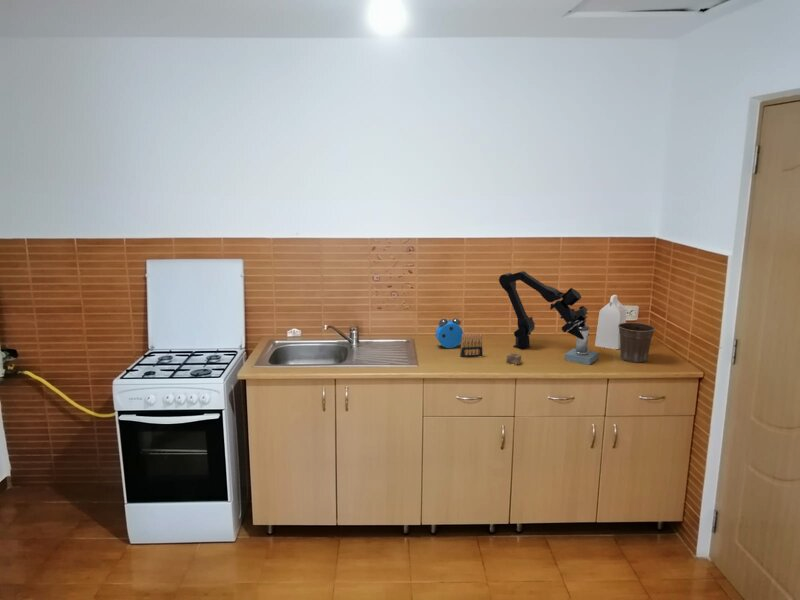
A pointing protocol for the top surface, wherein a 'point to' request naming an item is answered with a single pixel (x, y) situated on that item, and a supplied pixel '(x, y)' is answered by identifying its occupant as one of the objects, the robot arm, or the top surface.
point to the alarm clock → (449, 333)
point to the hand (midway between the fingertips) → (585, 337)
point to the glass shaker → (582, 344)
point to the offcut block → (513, 358)
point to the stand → (581, 357)
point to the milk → (610, 324)
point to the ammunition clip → (471, 346)
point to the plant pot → (635, 341)
